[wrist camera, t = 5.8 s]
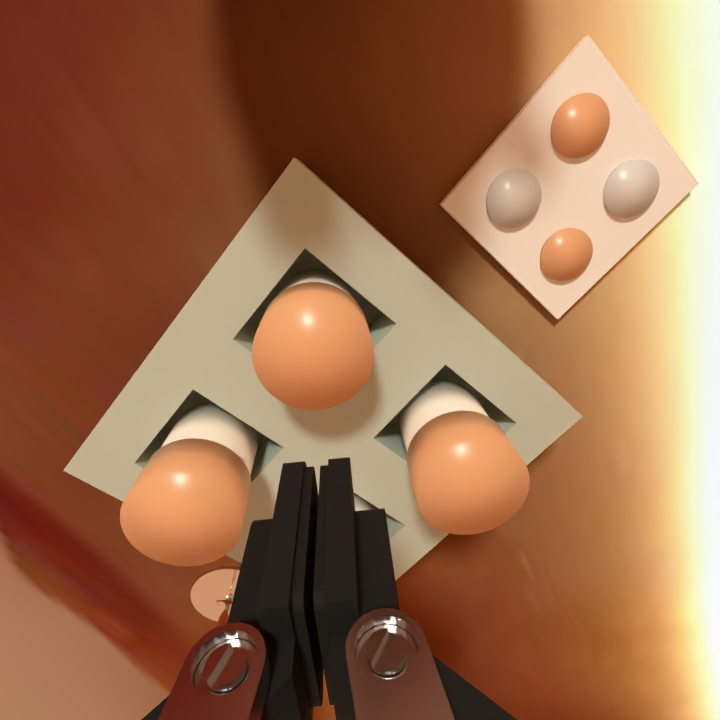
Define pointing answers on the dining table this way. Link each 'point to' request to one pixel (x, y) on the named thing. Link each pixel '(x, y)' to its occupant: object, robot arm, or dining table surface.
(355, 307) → the button
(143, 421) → the board
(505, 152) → the pattern tile
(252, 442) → the button
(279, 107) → the dining table surface
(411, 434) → the button
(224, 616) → the wineglass
